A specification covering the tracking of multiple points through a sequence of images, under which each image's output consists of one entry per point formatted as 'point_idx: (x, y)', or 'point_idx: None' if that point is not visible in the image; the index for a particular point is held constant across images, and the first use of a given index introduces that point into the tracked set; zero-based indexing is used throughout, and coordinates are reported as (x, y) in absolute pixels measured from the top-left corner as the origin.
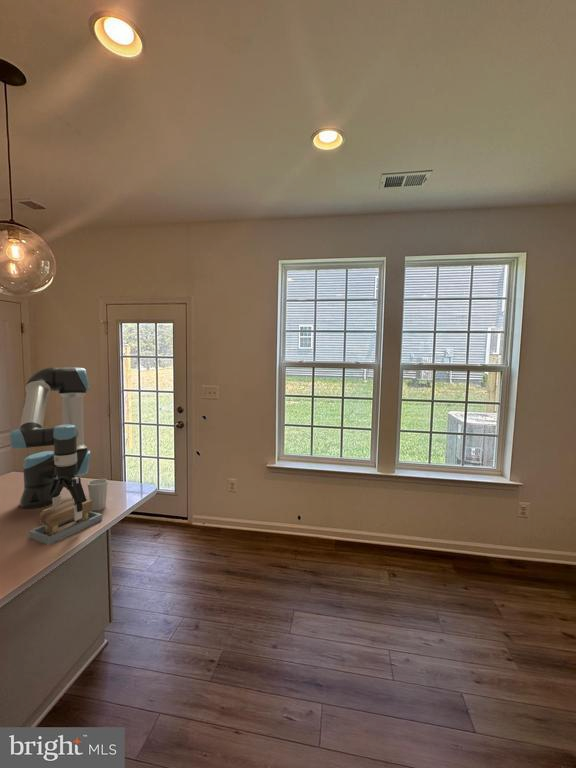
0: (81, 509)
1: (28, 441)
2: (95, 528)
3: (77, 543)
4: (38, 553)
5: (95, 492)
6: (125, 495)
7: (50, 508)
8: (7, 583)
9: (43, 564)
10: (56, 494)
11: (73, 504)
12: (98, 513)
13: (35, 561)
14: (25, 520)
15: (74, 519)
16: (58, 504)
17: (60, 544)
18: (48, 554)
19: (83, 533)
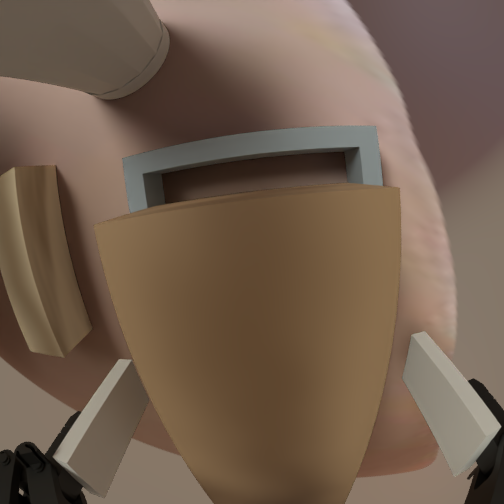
0: (481, 393)
1: None
2: (423, 230)
3: (450, 349)
4: (371, 439)
5: (73, 16)
6: None
7: (25, 321)
8: (411, 470)
9: None
10: (62, 489)
11: (279, 407)
12: (334, 128)
13: (401, 444)
14: (38, 355)
15: (405, 381)
16: (112, 418)
17: (394, 392)
18: (407, 423)
19: (412, 299)
